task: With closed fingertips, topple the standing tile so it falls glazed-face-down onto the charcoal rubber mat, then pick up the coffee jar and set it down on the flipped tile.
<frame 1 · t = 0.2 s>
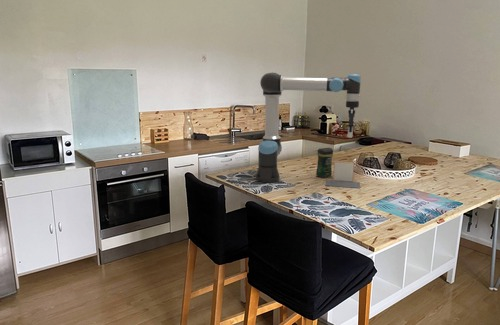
hand: (350, 135, 233), 28 cm above the kitchen island, fingers open, 13 cm apart
mat: (342, 184, 228), on the kitchen island
tile: (342, 181, 235), on the kitchen island
coffee jar: (323, 176, 245), on the kitchen island
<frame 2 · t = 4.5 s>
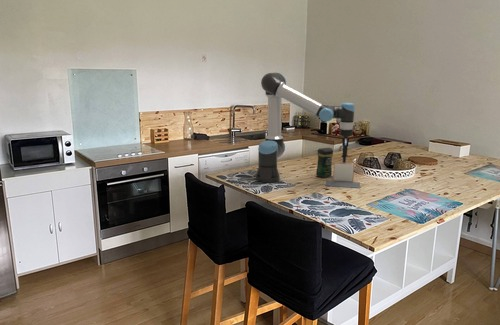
hand: (343, 166, 233), 9 cm above the kitchen island, fingers closed
tile: (342, 180, 235), on the kitchen island, tilted 9°
everything else where it was.
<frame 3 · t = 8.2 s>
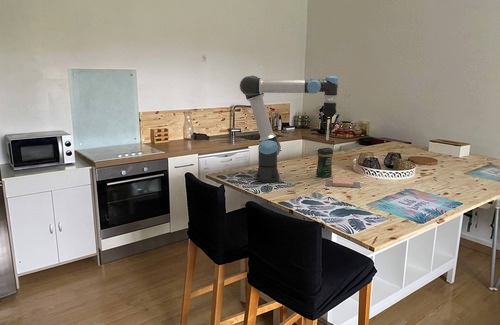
hand: (327, 139, 238), 24 cm above the kitchen island, fingers closed
tile: (343, 179, 234), point 1 cm above the kitchen island, tilted 90°, touching mat
everything else where it was.
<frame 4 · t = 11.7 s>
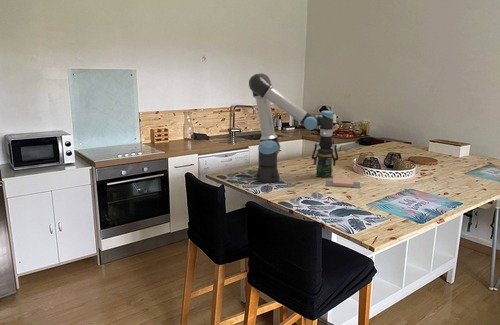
hand: (324, 170, 244), 4 cm above the kitchen island, fingers closed on coffee jar, 9 cm apart
coffee jar: (324, 176, 245), on the kitchen island, touching gripper
everything else where it was.
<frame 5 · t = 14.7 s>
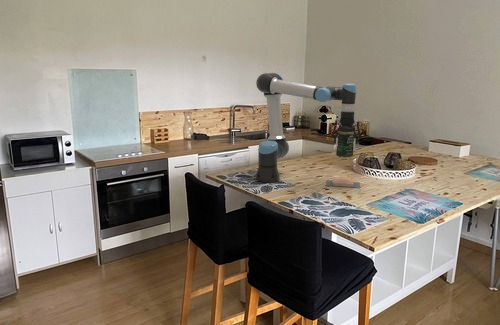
hand: (345, 149, 223), 21 cm above the kitchen island, fingers closed on coffee jar, 9 cm apart
coffee jar: (344, 156, 224), point 17 cm above the kitchen island, touching gripper
everything else where it was.
when the fingers open (7 cm above the kitchen island, at t = 17.9 s): coffee jar stays where it is, resting on tile.
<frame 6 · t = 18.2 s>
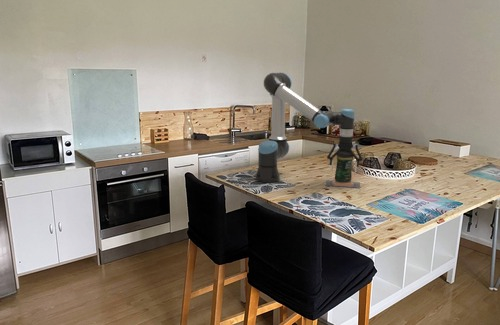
hand: (343, 171, 226), 8 cm above the kitchen island, fingers open, 13 cm apart
tile: (343, 179, 234), point 1 cm above the kitchen island, tilted 90°, touching coffee jar, mat
coffee jar: (343, 180, 228), point 2 cm above the kitchen island, touching tile
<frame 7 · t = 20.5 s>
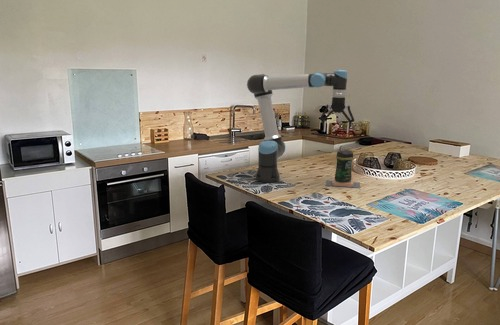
hand: (335, 132, 229), 30 cm above the kitchen island, fingers open, 13 cm apart
nothing on the kitchen island moved.
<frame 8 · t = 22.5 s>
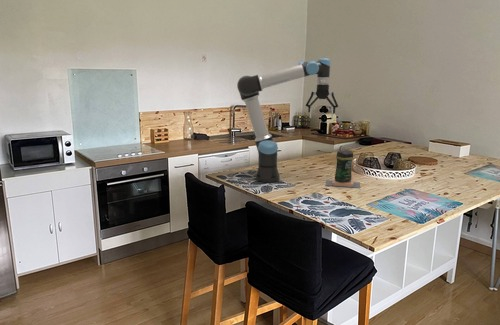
hand: (321, 118, 243), 37 cm above the kitchen island, fingers open, 13 cm apart
nothing on the kitchen island moved.
at the end: tile tilted 90°; tile inside the target area (4.3 cm from its centre), point 1.3 cm above the kitchen island; coffee jar inside the target area (0.1 cm from its centre), point 2.0 cm above the kitchen island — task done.
